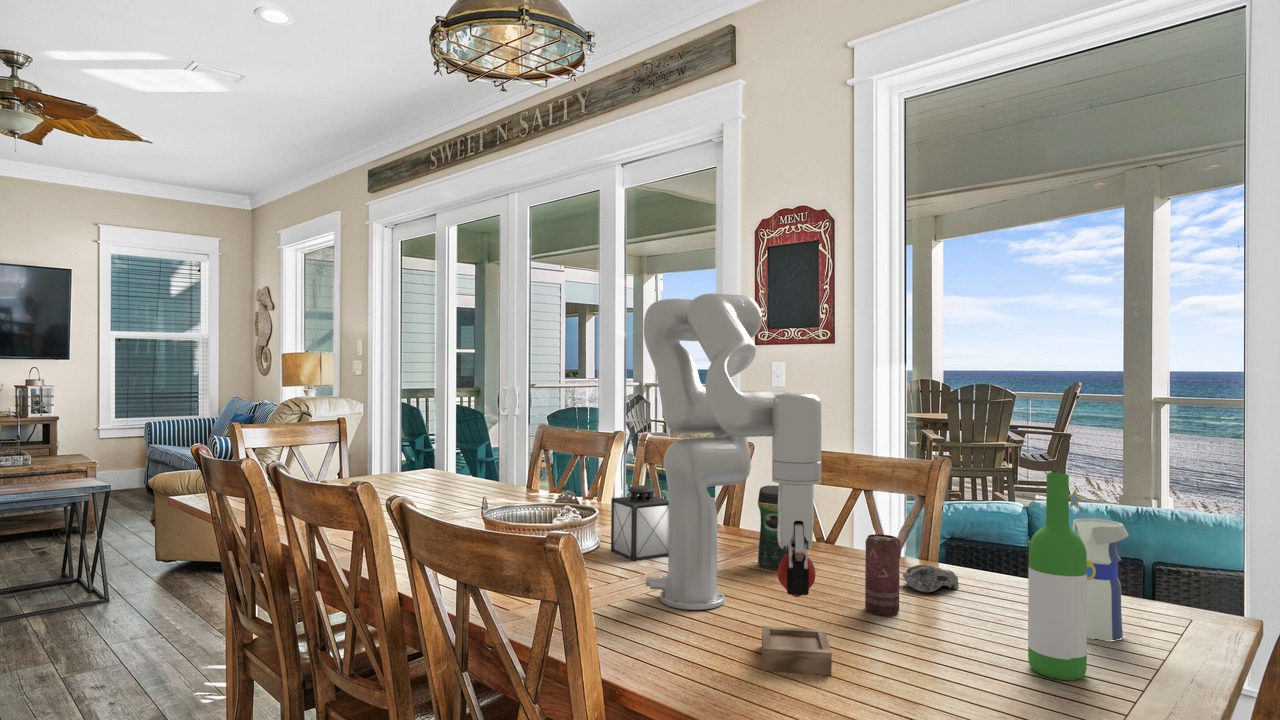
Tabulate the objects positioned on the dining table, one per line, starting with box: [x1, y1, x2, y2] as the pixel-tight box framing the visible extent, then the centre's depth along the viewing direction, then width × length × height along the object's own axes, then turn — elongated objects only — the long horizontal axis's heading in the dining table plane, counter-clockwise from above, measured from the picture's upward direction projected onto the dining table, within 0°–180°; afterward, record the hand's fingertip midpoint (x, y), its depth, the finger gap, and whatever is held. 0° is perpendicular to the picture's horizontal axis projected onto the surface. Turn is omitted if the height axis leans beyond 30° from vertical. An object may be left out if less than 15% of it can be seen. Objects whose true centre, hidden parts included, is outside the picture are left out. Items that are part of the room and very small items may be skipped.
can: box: [864, 533, 902, 617], centre depth 140 cm, size 6×6×14 cm
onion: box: [777, 552, 817, 598], centre depth 116 cm, size 6×6×8 cm
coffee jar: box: [757, 485, 786, 571], centre depth 171 cm, size 10×8×19 cm
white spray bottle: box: [1069, 489, 1129, 641], centre depth 129 cm, size 8×9×25 cm
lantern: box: [610, 439, 669, 562], centre depth 182 cm, size 11×11×28 cm
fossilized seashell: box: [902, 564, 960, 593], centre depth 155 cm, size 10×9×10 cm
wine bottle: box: [1027, 471, 1088, 681], centre depth 112 cm, size 8×8×30 cm
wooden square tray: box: [761, 625, 833, 676], centre depth 116 cm, size 10×10×3 cm
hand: (796, 587), depth 116 cm, fingers closed on onion, 5 cm apart
